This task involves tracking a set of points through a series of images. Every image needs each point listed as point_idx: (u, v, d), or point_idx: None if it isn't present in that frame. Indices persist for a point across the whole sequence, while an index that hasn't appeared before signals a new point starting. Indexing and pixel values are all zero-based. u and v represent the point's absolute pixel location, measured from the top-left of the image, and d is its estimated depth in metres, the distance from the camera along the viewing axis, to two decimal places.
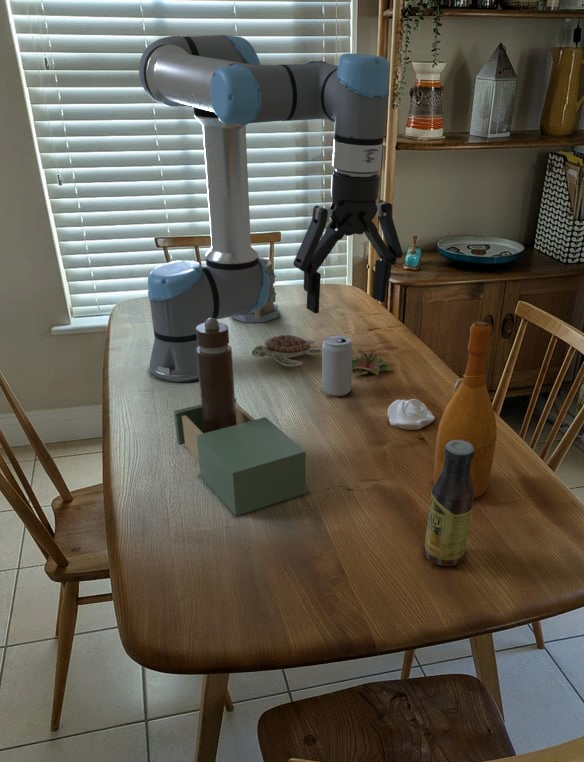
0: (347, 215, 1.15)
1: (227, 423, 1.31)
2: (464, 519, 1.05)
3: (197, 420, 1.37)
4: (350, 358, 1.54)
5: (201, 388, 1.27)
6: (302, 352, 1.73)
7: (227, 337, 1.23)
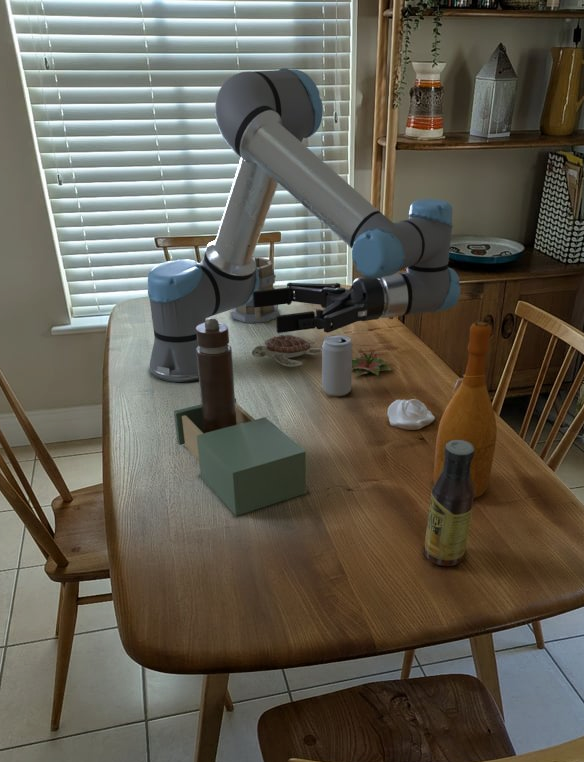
0: None
1: (227, 423, 1.31)
2: (464, 519, 1.05)
3: (197, 420, 1.37)
4: (350, 358, 1.54)
5: (201, 388, 1.27)
6: (302, 352, 1.73)
7: (227, 337, 1.23)
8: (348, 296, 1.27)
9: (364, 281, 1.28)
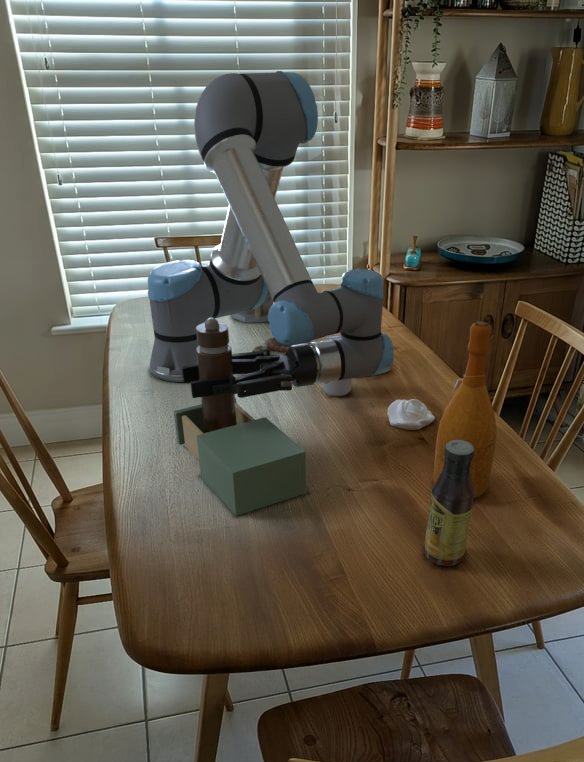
0: None
1: (227, 423, 1.31)
2: (464, 519, 1.05)
3: (197, 420, 1.37)
4: None
5: None
6: None
7: (227, 337, 1.23)
8: (279, 364, 1.29)
9: (296, 349, 1.30)
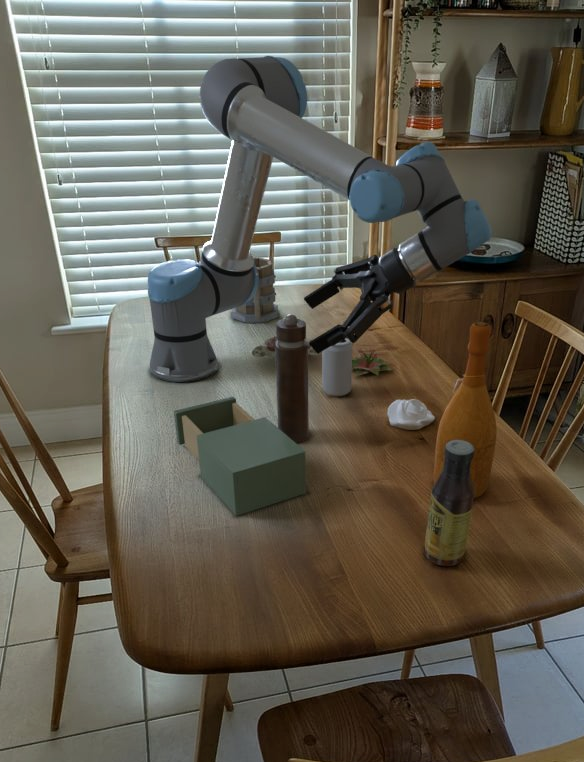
0: None
1: (301, 414, 1.38)
2: (464, 519, 1.05)
3: (197, 420, 1.37)
4: (350, 358, 1.54)
5: (278, 381, 1.35)
6: None
7: (305, 332, 1.31)
8: (372, 285, 1.30)
9: (382, 263, 1.28)
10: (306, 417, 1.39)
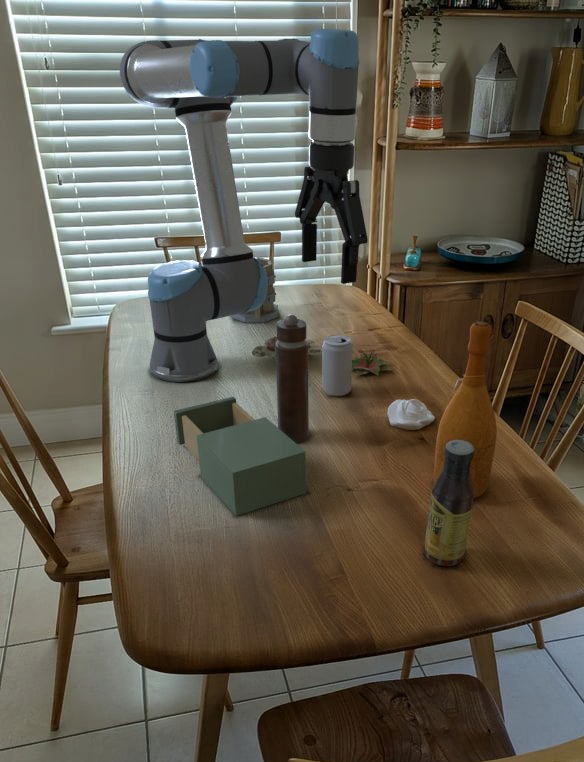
0: None
1: (301, 414, 1.38)
2: (464, 519, 1.05)
3: (197, 420, 1.37)
4: (350, 358, 1.54)
5: (278, 381, 1.35)
6: None
7: (305, 332, 1.31)
8: (329, 188, 1.21)
9: (315, 165, 1.19)
10: (306, 418, 1.39)
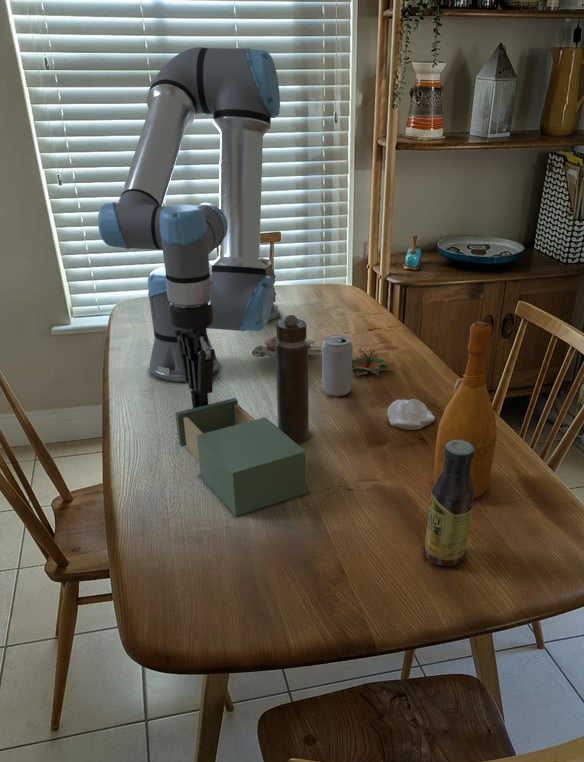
0: None
1: (301, 414, 1.38)
2: (464, 519, 1.05)
3: (199, 422, 1.37)
4: (350, 358, 1.54)
5: (278, 381, 1.35)
6: None
7: (305, 332, 1.31)
8: (189, 345, 1.30)
9: (175, 324, 1.27)
10: (306, 418, 1.39)
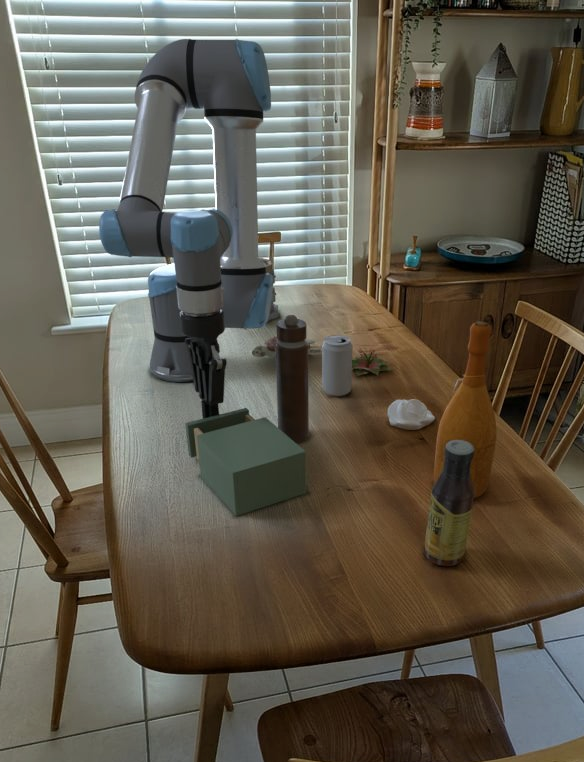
0: None
1: (301, 414, 1.38)
2: (464, 519, 1.05)
3: None
4: (350, 358, 1.54)
5: (278, 381, 1.35)
6: None
7: (305, 332, 1.31)
8: (200, 355, 1.26)
9: (185, 333, 1.24)
10: (306, 418, 1.39)
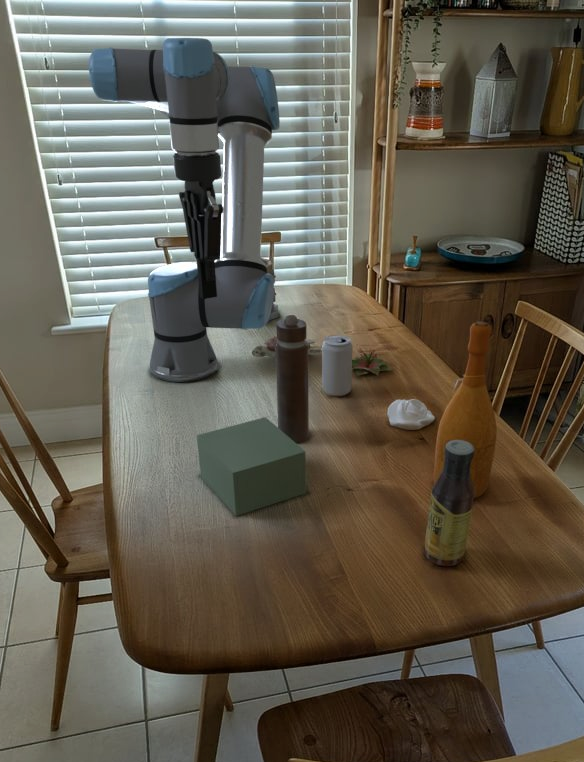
0: None
1: (301, 414, 1.38)
2: (464, 519, 1.05)
3: None
4: (350, 358, 1.54)
5: (278, 381, 1.35)
6: None
7: (305, 332, 1.31)
8: (195, 202, 1.19)
9: (179, 176, 1.17)
10: (306, 418, 1.39)
